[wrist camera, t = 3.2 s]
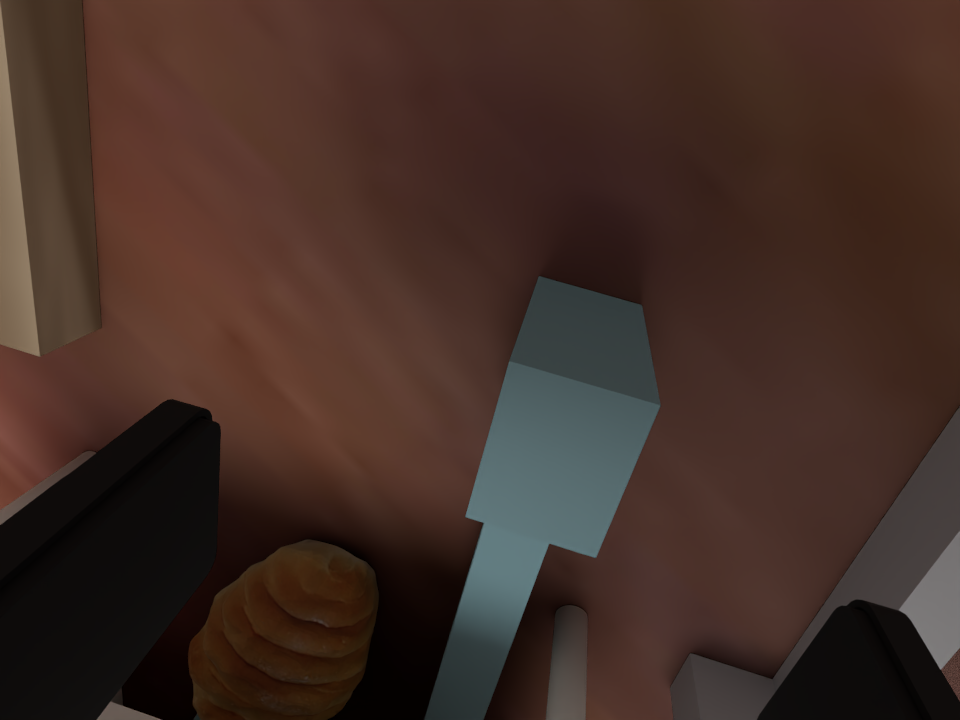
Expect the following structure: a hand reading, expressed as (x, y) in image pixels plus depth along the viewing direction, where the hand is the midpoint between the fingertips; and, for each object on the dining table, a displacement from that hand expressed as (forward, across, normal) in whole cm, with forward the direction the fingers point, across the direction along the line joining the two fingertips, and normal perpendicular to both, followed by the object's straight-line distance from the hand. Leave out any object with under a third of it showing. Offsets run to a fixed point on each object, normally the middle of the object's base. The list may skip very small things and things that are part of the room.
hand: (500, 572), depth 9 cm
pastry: (+10, +6, +15) cm, 19 cm away
